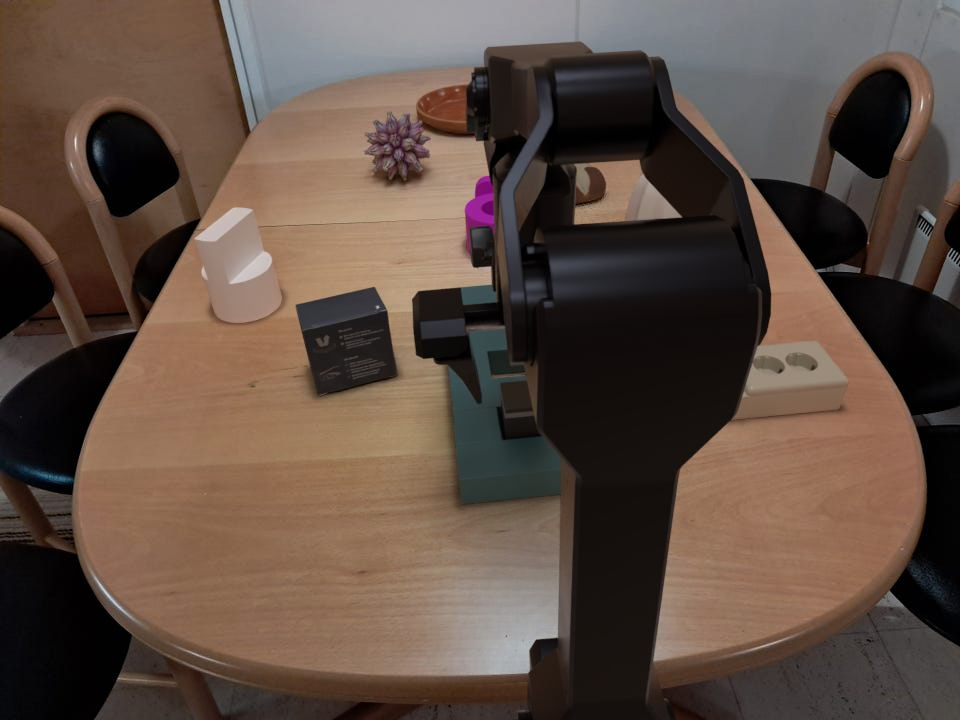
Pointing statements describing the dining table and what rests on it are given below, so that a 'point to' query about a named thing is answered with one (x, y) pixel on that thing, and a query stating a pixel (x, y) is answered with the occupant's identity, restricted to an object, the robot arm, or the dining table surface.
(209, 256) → the base with upright slab
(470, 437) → the teal three-hole plate
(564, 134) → the robot arm
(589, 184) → the bread
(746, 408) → the electrical outlet
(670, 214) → the vase
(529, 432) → the block
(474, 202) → the magenta slotted-back ring holder
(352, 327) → the box
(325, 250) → the dining table surface
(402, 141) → the flower
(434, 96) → the saucer
